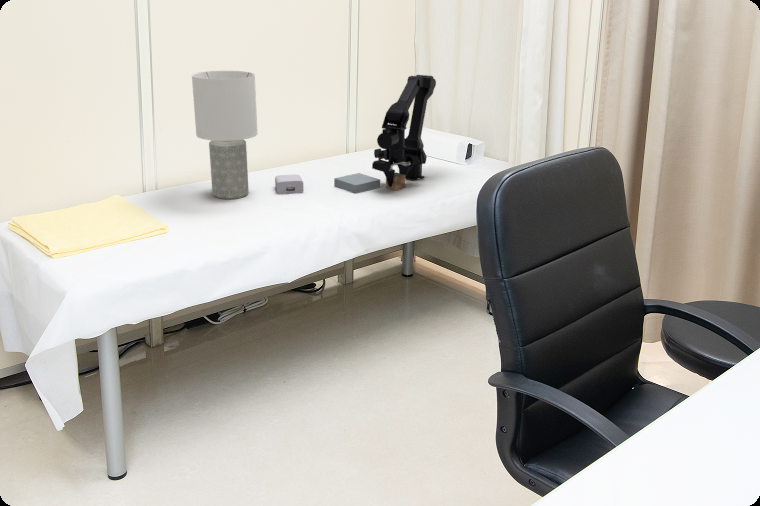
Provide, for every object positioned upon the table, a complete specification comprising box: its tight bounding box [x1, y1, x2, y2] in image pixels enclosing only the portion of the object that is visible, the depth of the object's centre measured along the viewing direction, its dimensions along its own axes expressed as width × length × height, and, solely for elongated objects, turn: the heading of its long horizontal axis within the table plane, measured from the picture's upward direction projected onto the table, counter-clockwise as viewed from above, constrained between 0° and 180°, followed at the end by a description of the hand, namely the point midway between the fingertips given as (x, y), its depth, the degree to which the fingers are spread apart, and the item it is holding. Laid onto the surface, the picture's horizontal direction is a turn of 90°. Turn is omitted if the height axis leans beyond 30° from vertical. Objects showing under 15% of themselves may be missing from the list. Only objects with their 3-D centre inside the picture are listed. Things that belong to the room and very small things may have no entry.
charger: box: [274, 174, 304, 195], centre depth 270 cm, size 5×9×15 cm
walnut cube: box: [385, 171, 406, 191], centre depth 272 cm, size 5×5×5 cm
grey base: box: [333, 172, 381, 194], centre depth 273 cm, size 12×12×3 cm
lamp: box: [191, 70, 258, 200], centre depth 255 cm, size 21×21×42 cm
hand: (395, 185), depth 273 cm, fingers closed on walnut cube, 5 cm apart
